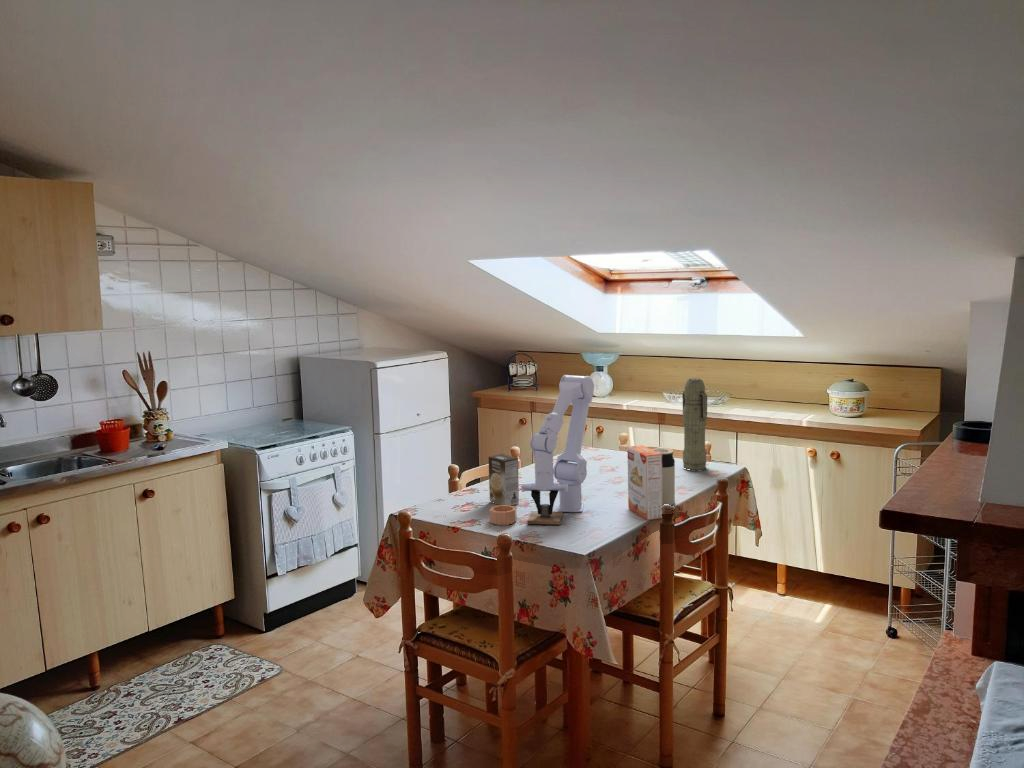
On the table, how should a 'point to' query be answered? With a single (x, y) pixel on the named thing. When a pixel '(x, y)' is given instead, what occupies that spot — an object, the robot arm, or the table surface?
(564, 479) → the robot arm
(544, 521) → the walnut lid
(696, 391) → the thermos
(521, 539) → the table surface
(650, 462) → the cracker box
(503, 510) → the terracotta bowl
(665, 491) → the travel mug
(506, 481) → the coffee box
